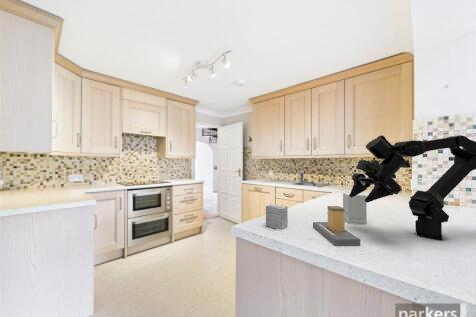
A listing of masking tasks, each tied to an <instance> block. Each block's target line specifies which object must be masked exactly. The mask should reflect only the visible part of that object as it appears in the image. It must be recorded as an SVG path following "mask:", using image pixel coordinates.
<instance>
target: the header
mask: <svg viewBox="0 0 476 317" xmlns="http://www.w3.org/2000/svg"><path fill="white" fill-rule="evenodd" d="M312 227H313V229H314V230H316V231H317V232H318V233H319V234H320V235H321V236H322V237H324V238H325V239H326V240H327V241H328V242H330V243H331V245H333V246H334V247H361V239H360V238H359V237H358V236H356V235H354V234H353V233H350V232H349V231H348V230H347V229H345V228H344V232H332V231H330V230H329V229H328V221H313V222H312Z"/></svg>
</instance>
